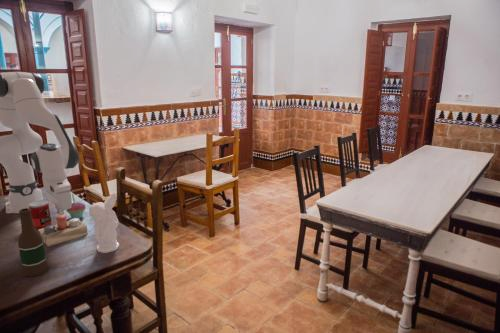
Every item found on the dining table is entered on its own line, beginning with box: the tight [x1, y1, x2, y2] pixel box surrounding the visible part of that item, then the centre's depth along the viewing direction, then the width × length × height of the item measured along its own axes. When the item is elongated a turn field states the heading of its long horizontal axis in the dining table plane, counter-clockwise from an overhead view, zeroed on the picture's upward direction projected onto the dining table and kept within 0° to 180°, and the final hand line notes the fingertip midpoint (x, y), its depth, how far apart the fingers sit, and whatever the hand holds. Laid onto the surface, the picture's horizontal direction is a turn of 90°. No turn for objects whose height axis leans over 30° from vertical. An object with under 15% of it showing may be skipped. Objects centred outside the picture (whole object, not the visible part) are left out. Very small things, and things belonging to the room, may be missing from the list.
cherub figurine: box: [88, 193, 120, 254], centre depth 145 cm, size 12×12×22 cm
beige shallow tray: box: [37, 220, 89, 248], centre depth 156 cm, size 11×16×4 cm
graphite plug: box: [44, 224, 55, 235], centre depth 153 cm, size 4×4×6 cm
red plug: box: [55, 214, 67, 231], centre depth 155 cm, size 4×4×6 cm
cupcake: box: [65, 192, 87, 219], centre depth 175 cm, size 9×8×12 cm
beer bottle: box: [17, 208, 48, 278], centre depth 127 cm, size 8×8×24 cm
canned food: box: [29, 199, 53, 229], centre depth 166 cm, size 8×8×11 cm
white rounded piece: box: [68, 218, 81, 227], centre depth 159 cm, size 4×4×6 cm
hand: (60, 213), depth 154 cm, fingers closed
